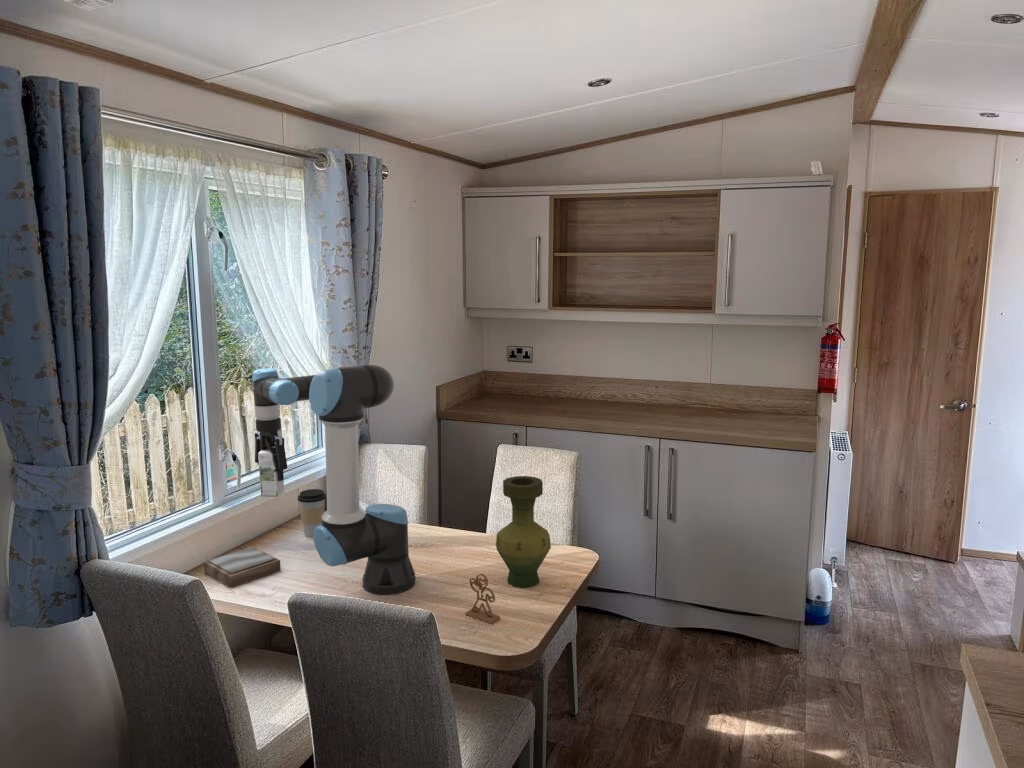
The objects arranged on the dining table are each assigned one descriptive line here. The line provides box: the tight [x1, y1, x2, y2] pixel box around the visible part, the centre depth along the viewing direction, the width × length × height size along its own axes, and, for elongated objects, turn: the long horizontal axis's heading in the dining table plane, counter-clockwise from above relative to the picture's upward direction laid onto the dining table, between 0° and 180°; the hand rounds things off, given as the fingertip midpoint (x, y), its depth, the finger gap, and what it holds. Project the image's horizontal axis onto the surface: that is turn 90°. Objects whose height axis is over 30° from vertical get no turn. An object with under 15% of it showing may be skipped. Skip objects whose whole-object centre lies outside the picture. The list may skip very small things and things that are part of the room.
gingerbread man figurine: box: [464, 573, 501, 625], centre depth 198 cm, size 9×4×12 cm, turn 54°
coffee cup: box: [297, 488, 327, 539], centre depth 258 cm, size 9×9×15 cm
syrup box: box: [258, 449, 285, 498], centre depth 241 cm, size 6×6×14 cm
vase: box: [495, 475, 552, 589], centre depth 218 cm, size 16×16×30 cm
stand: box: [203, 546, 282, 589], centre depth 229 cm, size 16×16×4 cm
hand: (272, 487), depth 242 cm, fingers closed on syrup box, 8 cm apart
